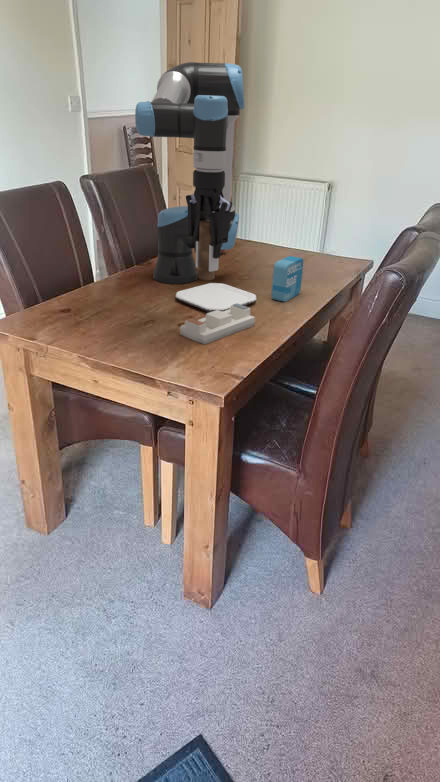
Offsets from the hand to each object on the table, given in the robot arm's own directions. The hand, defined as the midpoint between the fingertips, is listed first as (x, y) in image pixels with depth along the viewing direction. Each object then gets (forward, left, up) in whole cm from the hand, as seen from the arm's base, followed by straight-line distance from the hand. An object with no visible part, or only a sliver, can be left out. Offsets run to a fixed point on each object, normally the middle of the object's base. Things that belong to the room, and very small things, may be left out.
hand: (206, 268), depth 143 cm
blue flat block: (-5, +42, -18) cm, 46 cm away
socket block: (0, +5, -18) cm, 19 cm away
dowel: (0, 0, -2) cm, 2 cm away
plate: (-17, +22, -19) cm, 34 cm away
